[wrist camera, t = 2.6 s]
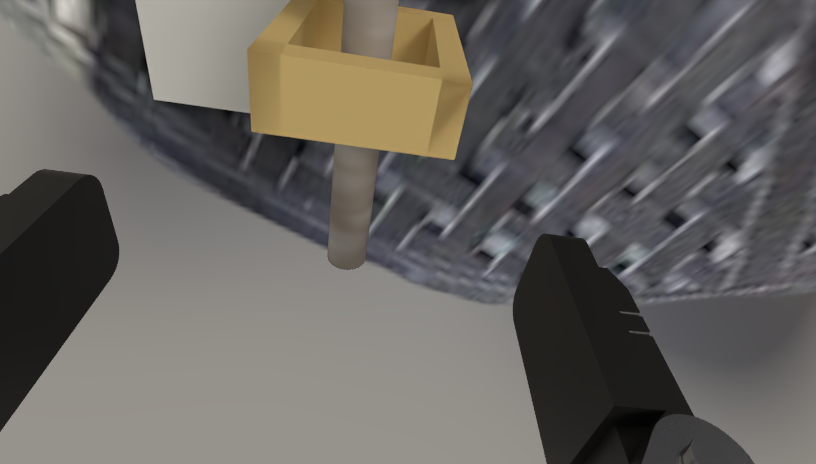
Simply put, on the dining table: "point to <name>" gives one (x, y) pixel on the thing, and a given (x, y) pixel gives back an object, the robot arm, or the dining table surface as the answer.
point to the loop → (360, 82)
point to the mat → (203, 48)
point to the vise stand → (356, 166)
